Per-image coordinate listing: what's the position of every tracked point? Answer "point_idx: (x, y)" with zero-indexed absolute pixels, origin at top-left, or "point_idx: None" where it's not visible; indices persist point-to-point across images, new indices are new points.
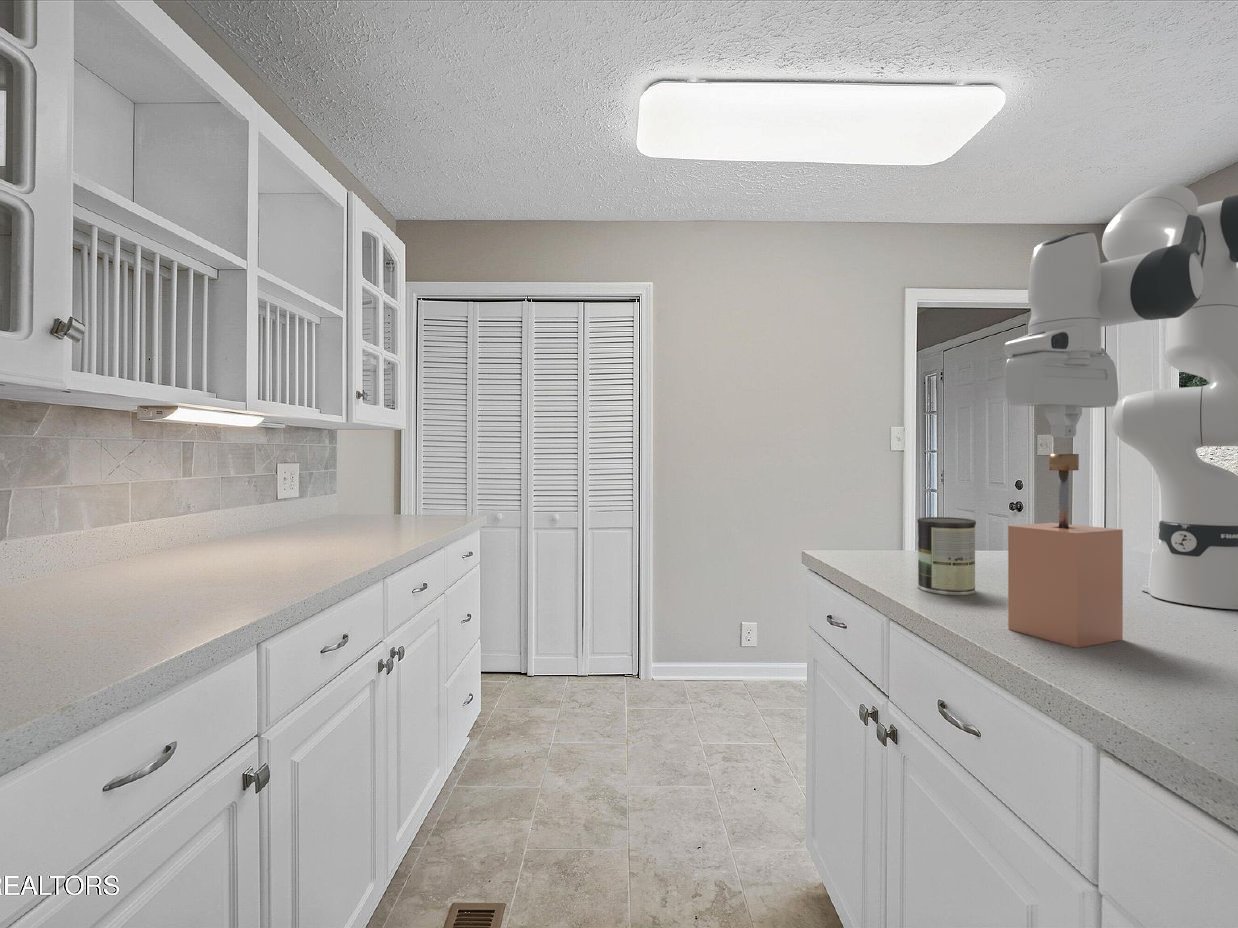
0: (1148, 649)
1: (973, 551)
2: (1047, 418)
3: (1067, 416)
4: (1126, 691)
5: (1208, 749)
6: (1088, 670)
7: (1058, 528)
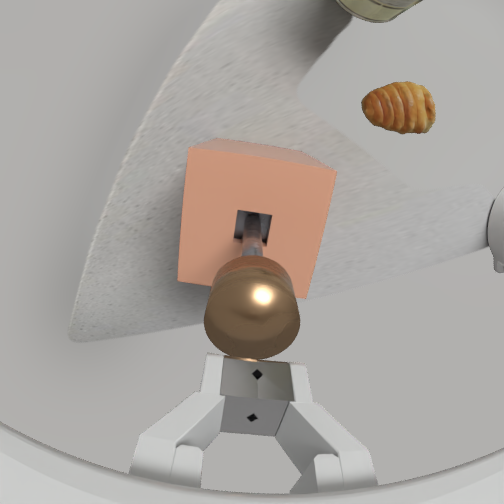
0: None
1: (404, 3)
2: (162, 417)
3: (319, 453)
4: (123, 289)
5: (84, 336)
6: (144, 255)
7: (226, 230)
